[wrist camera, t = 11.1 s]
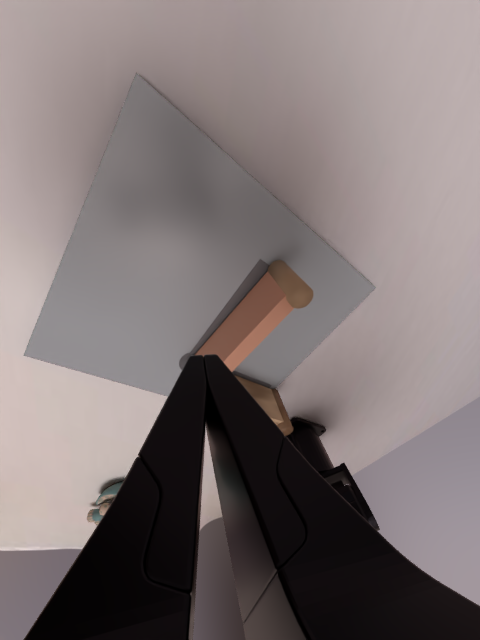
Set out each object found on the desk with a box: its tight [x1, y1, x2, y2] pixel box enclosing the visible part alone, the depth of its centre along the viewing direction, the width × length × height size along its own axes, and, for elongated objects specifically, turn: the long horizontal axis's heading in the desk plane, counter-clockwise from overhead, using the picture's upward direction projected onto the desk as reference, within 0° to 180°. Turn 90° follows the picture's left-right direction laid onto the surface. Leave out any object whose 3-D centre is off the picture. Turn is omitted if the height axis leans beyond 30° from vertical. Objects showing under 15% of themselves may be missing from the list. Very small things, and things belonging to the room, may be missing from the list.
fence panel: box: [195, 260, 313, 372], centre depth 18 cm, size 13×2×4 cm, turn 139°
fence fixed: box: [235, 375, 293, 436], centre depth 23 cm, size 10×2×4 cm, turn 53°
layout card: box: [24, 73, 376, 396], centre depth 20 cm, size 22×20×1 cm
